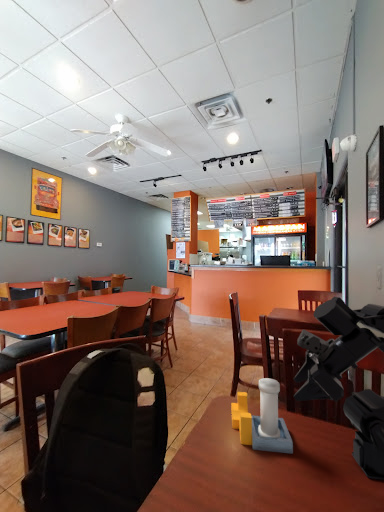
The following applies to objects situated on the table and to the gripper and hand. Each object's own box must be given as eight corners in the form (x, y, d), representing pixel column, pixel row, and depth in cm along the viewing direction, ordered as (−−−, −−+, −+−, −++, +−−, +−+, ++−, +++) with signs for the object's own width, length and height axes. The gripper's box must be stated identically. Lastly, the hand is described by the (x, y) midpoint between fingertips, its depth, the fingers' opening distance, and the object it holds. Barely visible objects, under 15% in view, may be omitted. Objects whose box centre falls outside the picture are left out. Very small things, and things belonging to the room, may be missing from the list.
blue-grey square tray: (283, 427, 64) (282, 418, 64) (292, 453, 55) (292, 442, 55) (248, 424, 65) (248, 415, 65) (252, 449, 56) (252, 438, 56)
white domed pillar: (281, 432, 61) (281, 380, 61) (278, 446, 56) (278, 390, 57) (260, 426, 63) (260, 376, 64) (256, 438, 59) (256, 384, 59)
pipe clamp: (231, 414, 70) (231, 391, 70) (246, 415, 69) (246, 392, 70) (233, 444, 58) (233, 416, 58) (251, 445, 57) (251, 418, 58)
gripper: (315, 313, 64) (273, 349, 68) (323, 329, 47) (265, 376, 51) (351, 347, 61) (303, 383, 65) (372, 378, 44) (306, 424, 48)
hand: (294, 389), depth 57 cm, fingers open, 9 cm apart
